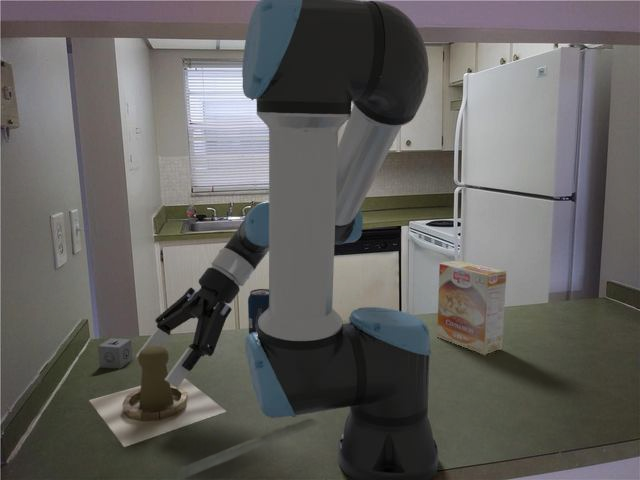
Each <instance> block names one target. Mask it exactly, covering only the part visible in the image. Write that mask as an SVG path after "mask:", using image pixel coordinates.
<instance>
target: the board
mask: <svg viewBox="0 0 640 480" xmlns="http://www.w3.org/2000/svg"><path fill="white" fill-rule="evenodd" d="M170 385H172V384H170ZM180 387H182V388H183V389H184V390H186V391H187V392H188V402H187V406H186V408H185V409H183V410H182V411H181V412H179V413H178V414H177V415H174V416H171V417H168V418H165V419H162V420H156V421H137V420H133V419H129V418H128V417H127V416H126V415H125V414H124V413H123V405H122V404H123V402H124V400H125V397H126V396H128V395H129V394H131V393H132V392H134V391H136V390H138V389H141V385H138V386H135V387H131V388H128V389H124V390H120V391H117V392H112V393H110V394H106V395H103V396H99V397H95V398H92V399H89V400H88V401H89V403H91V404H90V405H92V407H93V408H94V409H95V410H96V411H97V413H98V415H99V417H101V419H102V420H103V421H104V422H105V424H106V425H107V427H109V430H110V431H111V432H112V433H113V434H114V436H115V438H116V439H117V440H118V441H119V442H120V444H121V445H122V446H123V448H126V447H129V446H132V445H135V444H138V443H141V442H144V441H147V440H149V439H152V438H155V437H158V436H161V435H163V434H166V433H169V432H173V431H176V430H178V429H181V428H184V427H186V426H187V427H188V426H190V425H192V424H197V423H199V422H201V421H204V420H207V419H210V418H212V417H216V416H218V415H221V414H224V413H227V412H228V411H227V410H226V409H224V408H223V407H222V406H220V405H219V404H218V403H216V402H215V400H214V399H212V398H211V397H209V396H208V395H207V394H205V393H204V392H203V391H202V390H201V389H199V388H198V387H196V386H195V385H194V384H193V383H192V382H191V381H189V380H188V379H187V378H185V379H184V380H183V381H182V383H181V384H180ZM172 397H173V402H174V403H176V402H177V401H179V400H180V398H179V397H177V396H174V395H172ZM139 405H140V400H138V401H136V402H135V403H133V404H132V405H131V406H132V407H133V408H135V409H139Z"/></svg>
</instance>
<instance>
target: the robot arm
mask: <svg viewBox="0 0 640 480" xmlns="http://www.w3.org/2000/svg"><path fill="white" fill-rule="evenodd" d="M421 34H422V33H421V32H420V30H419V28H418V27H417V25H415V23H414V22H413V21H412V20H411V18H410V17H409V16H408V15H407V14H406V13H404V12H403V11H402V10H400V9H399V8H398V7H396V6H394V5H391V4H388V3H386V2H382V1H378V0H369V1H365V0H258V1H257V2H256V4H255V6H254V8H253V10H252V13H251V15H250V19H249V22H248V27H247V31H246V36H245V42H244V51H243V59H242V60H243V61H242V70H241V72H242V73H241V74H242V75H241V77H242V91H243V95H244V96H245V97H246V98H248V99H251V101H254V100H256V116H257V117H259V119H260V120H261V121H262V122H263V123H264V124H265V125H266V127H267V128H268V201H267V200H266V201H262V202H260V203H257V204H255V206H253V208H251V209H250V210H249V211H248V212H247V213H246V215H245V216H244V219H243V221H242V222H241V223H240V225H239V226H238V228H237V229H236V230H235V232H234V233H233V234H232V236H231V237H230V239H229V240H228V241H227V243H226V244H225V246H224V247H223V248H222V249H221V251H219V252H218V254H217V255H216V257H215V258H214V259H213V260H212V262H211V266H210V267H207V268H206V270H204V272H203V274H202V275H201V277H200V278H199V279H198V284H199V286H200V288H199V290H198V291H197V290H195V289H194V288H193V287H189V288H188V289H187V290H186V291H185V292H184V294H182V296H181V297H180V298H178V299H177V300H176V301H175V302H174V303H172V304H171V305H170V306H169V307H168V308H166V310H164V311H163V312H162V313H161V314H159V315H158V316H157V317H156V318H155V323H156V328H155V330H154V331H153V333H152V334H151V335H150V336H149V338H148V339H147V340H146V342H144V344H143V345H142V347H141V348H140V349H139V351H138V352H137V353H136V354H135V357H136V358H137V359H138V357H139V353H140V351H141V350H143V349H144V348H146V347H150V346H162V345H164V343H165V341H166V340H167V339H168V338H169V336H171V331H173V330H174V329H176V328H178V327H179V326H181V325H182V324H184V323H185V322H188V321H189V320H190V319H197V322H196V323H197V324H196V328H195V332H194V336H193V341H192V343H190V344H189V345H188V347H187V348H186V349H185V351H184V352H183V354H182V355H181V356H180V357H179V358H178V360H177V362H176V363H175V364H174V366H173V367H172V368H171V370H170V371H169V372H168V375H167V377H166V378H165V379H164V380H166V381H167V382H169V383H170V384H172V385H173V386H175V387H176V388H178V387H179V386H180V384H181V383H182V381H183V380H184V379H186V377H187V376H188V374H189V373H190V372H191V371H192V370H193V368H194V367H195V365H196V364H197V363H198V361H199V360H200V358H201V357H204V356H208V357H211V356H213V354H214V353H215V350H216V348H217V344H218V342H219V339H220V336H221V333H222V332H223V327H224V325H225V324H226V321H227V320H226V319H227V318H228V317H229V315H230V314H231V311H232V308H231V306H229V305H228V304H232V302H233V301H234V299H235V298H236V297H237V295H238V293H240V290H241V289H240V287H243V286H244V285H245V283H246V282H247V281H248V280H249V279H250V277H251V275H252V274H253V273H254V271H255V270H256V268H257V267H258V266H259V265H260V263H261V262H262V260H263V259H264V258H265V257H266V255H267V254H268V289H269V308H268V309H267V310H266V311H265V312H264V313H262V314H261V315H260V317H259V319H258V333H255V332H253V333H251V334H249V333H248V335H246V337H245V349H246V357H247V358H246V359H247V363H248V367H249V374H250V378H251V382H252V387H253V390H254V394H255V398H256V401H257V404H258V407H259V409H260V411H261V412H262V414H263V415H264V416H266V417H268V418H270V419H271V418H272V419H277V418H285V417H292V418H297V416H301V415H307V414H313V413H319V412H323V411H330V410H332V411H333V410H336V409H343V408H348V407H349V411H348V415H347V418H346V420H345V423H344V428H343V431H342V433H341V436H340V438H339V440H338V445H337V446H338V447H337V448H338V449H337V451H338V455H337V456H338V457H337V458H338V459H337V461H338V464H339V466H340V469H341V470H342V471H343V472H344V473H345V475H347V476H348V477H349V478H350V479H352V480H431V479H433V478H434V476H435V475H436V474H437V472H438V467H439V448H438V444H437V442H436V440H435V438H434V436H433V430H432V427H431V422H430V419H429V413H428V412H429V387H430V385H429V384H430V381H429V379H430V358H431V357H430V355H432V350H431V337H430V330H429V327H428V325H427V324H426V322H425V321H423V320H422V319H420V318H419V317H417V316H416V315H413V314H410V313H408V312H404V311H401V310H398V309H397V310H396V309H392V308H385V307H384V308H383V307H375V306H374V307H373V306H371V307H370V306H367V307H358V308H357V309H354V310H352V311H351V313H350V315H349V317H348V321H349V322H348V323H344V322H343V321H344V320H343V317H342V316H341V315H340V314H339V313H338V312H337V311H336V310H335V309H334V308H333V302H334V301H333V297H334V295H333V294H334V268H335V266H334V265H335V245H343V244H349V243H355V242H357V241H359V239H361V236H362V234H363V231H362V230H363V227H364V220H363V213H362V210H361V206H362V205H363V203H364V201H365V198H366V197H367V195H368V194H369V191H370V190H371V189H370V188H371V187H372V185H373V183H374V181H375V179H376V177H377V175H378V173H379V171H380V170H381V167H382V166H383V164H384V161H385V159H387V158H386V157H387V156H388V154H389V151H390V149H391V148H392V146H393V144H394V141H395V139H396V138H397V136H398V134H399V132H400V130H401V128H402V126H405V125H408V124H409V123H411V122H412V121H413V120H414V118H415V116H417V115H416V114H417V113H418V111H419V109H420V107H421V106H422V103H423V100H424V98H425V96H426V92H427V86H428V82H429V72H430V71H429V70H430V69H429V68H430V67H429V60H428V59H429V58H428V51H427V48H426V45H425V44H426V43H424V40H423V37H422V35H421ZM352 104H353V105H352ZM345 123H346V124H345ZM344 124H345V127H344V130H343V133H342V135H341V138H340V140H339V131H340V129H341V127H343V125H344ZM338 141H339V143H338ZM162 347H163V346H162Z"/></svg>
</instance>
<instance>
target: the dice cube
mask: <svg viewBox="0 0 640 480" xmlns="http://www.w3.org/2000/svg"><path fill="white" fill-rule="evenodd" d="M97 347H98V350H97V351H98V358H99V359H98V361H99V362H98V363H99V368H101V369H102V368H103V369H116V368H119V370H121V369H123V368H124V367H125V366H126V365H127V364H128V365H129V364H130V362H132V361H133V347H132V339H130V338H128V339H127V338H114V337H111V338H108V339H107V340H106V341H104V342H102V343H101V344H99V345H98V346H97Z"/></svg>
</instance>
